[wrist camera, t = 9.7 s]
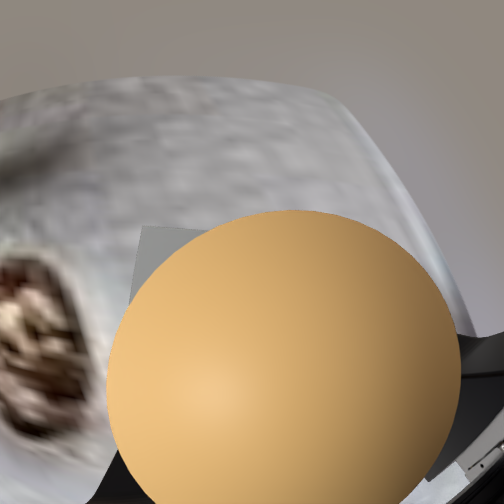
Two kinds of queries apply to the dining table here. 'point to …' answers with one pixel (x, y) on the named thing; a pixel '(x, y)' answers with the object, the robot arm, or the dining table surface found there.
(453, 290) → the dining table surface
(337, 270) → the rounded tan peg
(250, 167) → the dining table surface
